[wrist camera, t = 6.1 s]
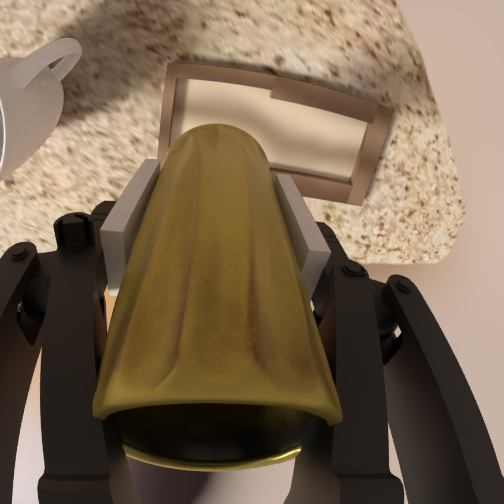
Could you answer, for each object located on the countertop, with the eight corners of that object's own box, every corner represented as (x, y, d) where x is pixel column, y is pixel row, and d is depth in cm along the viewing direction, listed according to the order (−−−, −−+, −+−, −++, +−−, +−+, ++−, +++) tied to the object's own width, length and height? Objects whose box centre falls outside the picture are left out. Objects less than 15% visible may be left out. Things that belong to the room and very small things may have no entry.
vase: (162, 217, 18) (111, 464, 6) (163, 119, 14) (5, 351, 3) (260, 223, 19) (312, 467, 7) (276, 128, 15) (427, 362, 4)
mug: (79, 9, 18) (3, -5, 7) (128, 82, 24) (67, 101, 13) (-6, 100, 21) (-81, 135, 10) (36, 164, 27) (-29, 221, 16)
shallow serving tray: (170, 62, 23) (167, 62, 22) (386, 107, 27) (393, 110, 26) (159, 173, 30) (156, 179, 29) (356, 200, 34) (361, 206, 33)
